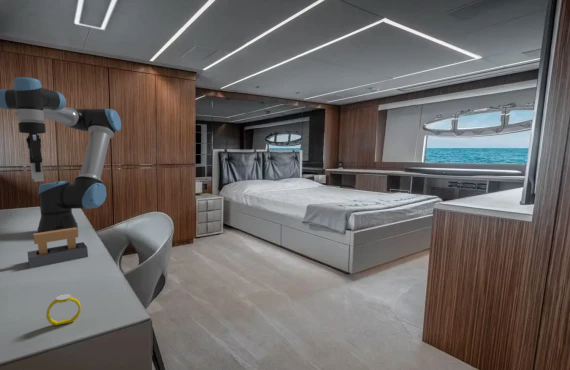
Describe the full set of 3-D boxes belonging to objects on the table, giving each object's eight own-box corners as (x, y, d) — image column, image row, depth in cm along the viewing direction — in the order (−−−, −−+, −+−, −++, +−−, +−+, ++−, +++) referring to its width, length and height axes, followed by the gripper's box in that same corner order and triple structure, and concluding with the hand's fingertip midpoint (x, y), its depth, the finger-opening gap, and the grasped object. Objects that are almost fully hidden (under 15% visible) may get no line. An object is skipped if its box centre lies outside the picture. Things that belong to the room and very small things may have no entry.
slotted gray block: (29, 268, 98) (28, 258, 97) (28, 261, 104) (27, 251, 103) (88, 256, 108) (87, 247, 108) (84, 251, 114) (83, 242, 114)
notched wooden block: (36, 264, 101) (33, 235, 100) (36, 262, 103) (33, 233, 102) (80, 256, 109) (77, 228, 108) (78, 254, 111) (76, 227, 110)
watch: (47, 330, 64) (44, 303, 63) (48, 324, 66) (45, 297, 66) (81, 321, 67) (79, 295, 66) (81, 315, 69) (79, 290, 69)
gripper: (17, 123, 118) (23, 178, 121) (18, 118, 100) (26, 183, 102) (42, 124, 123) (47, 177, 126) (47, 120, 105) (53, 181, 107)
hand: (37, 180), depth 114 cm, fingers open, 13 cm apart
